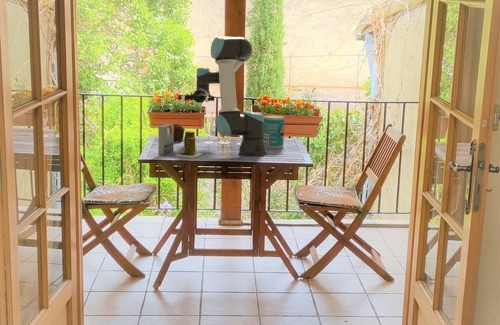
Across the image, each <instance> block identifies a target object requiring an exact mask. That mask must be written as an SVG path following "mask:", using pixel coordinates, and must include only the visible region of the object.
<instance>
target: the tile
mask: <svg viewBox="0 0 500 325" xmlns="http://www.w3.org/2000/svg"><path fill="white" fill-rule="evenodd" d="M181 153H184V151H181ZM197 153H198V154H195V155H190V156H186V155H181V154H179V153H177V154H175V157H183V158H192V159H196V158H197V157H200V156H202V155H203V152H197Z"/></svg>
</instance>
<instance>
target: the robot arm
mask: <svg viewBox="0 0 500 325" xmlns="http://www.w3.org/2000/svg"><path fill="white" fill-rule="evenodd" d="M252 54H253V46H252V44H251V42H250V41H249V39H247V38H245V37H243V36H237V37H236V36H217V37H214V39H213V40H212V42H211V45H210V55H211V58H212V59H214V61H215V64H217V65H218V66H217V67H218V70H210V68H209V67H197V69H196V75H195V76H196V87H195V88H196V89H195V91H194V92H193V93H191V94H189V93H187V94H179V95H178V100H179V101H181V102H184V101H188V100H189V101H194V102H195V103H197V104H202V103H203V102H204V101H205V103H208V102H211V101H212V102H215V96H213V95H211V92H210V84H219V93H220V107H221V109H220V110H219V111H218V114H217V115H216V117H215V127H216V130H217V132H218V134H219V136H222V137H238V136H242V139H241V143H240V145H239V149H238V153H239V155H241V156H249V157H261V156H265V155H267V148H265V144H264V141H263V136H264V116H265V115H264V114H262V113H261V112H256V111H247V110H245V111H243V112H242V114H241V110H240V109H239V108H238V102H237V89H236V87H237V86H236V74H235V73H236V72H237V71H238V69H239V68H240V67H241V66H242V64H244V62H247V61H249V59H250V58H251V56H252Z"/></svg>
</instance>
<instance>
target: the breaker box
mask: <svg viewBox="0 0 500 325" xmlns="http://www.w3.org/2000/svg"><path fill="white" fill-rule="evenodd" d="M174 124H175V123H171V122H170V123H165V124H161V125H158V157H165V156H167V155H171V154H172V153H174V144H175V143H174Z"/></svg>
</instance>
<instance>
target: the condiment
mask: <svg viewBox="0 0 500 325" xmlns="http://www.w3.org/2000/svg"><path fill="white" fill-rule="evenodd" d="M195 134H196V133H195V131H184V136H183V143H184V145H183V152H184V153H182V152H179V153H178V154H181V155H186V156H190V155H195V154H198V153H199V152H196V135H195Z"/></svg>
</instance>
